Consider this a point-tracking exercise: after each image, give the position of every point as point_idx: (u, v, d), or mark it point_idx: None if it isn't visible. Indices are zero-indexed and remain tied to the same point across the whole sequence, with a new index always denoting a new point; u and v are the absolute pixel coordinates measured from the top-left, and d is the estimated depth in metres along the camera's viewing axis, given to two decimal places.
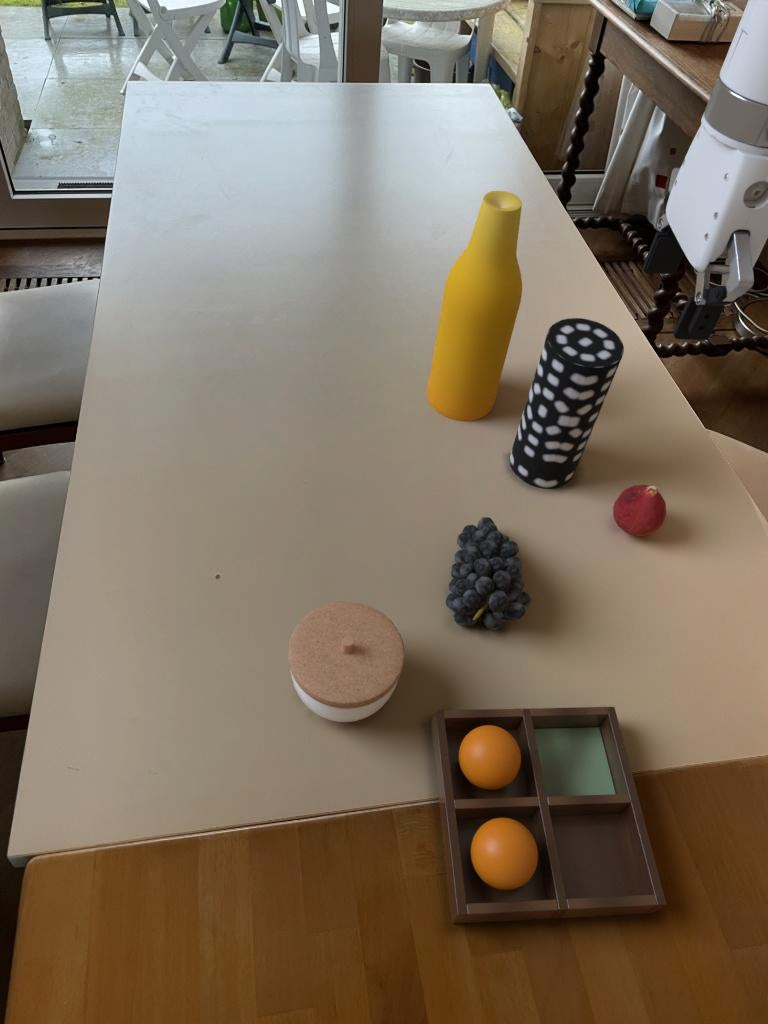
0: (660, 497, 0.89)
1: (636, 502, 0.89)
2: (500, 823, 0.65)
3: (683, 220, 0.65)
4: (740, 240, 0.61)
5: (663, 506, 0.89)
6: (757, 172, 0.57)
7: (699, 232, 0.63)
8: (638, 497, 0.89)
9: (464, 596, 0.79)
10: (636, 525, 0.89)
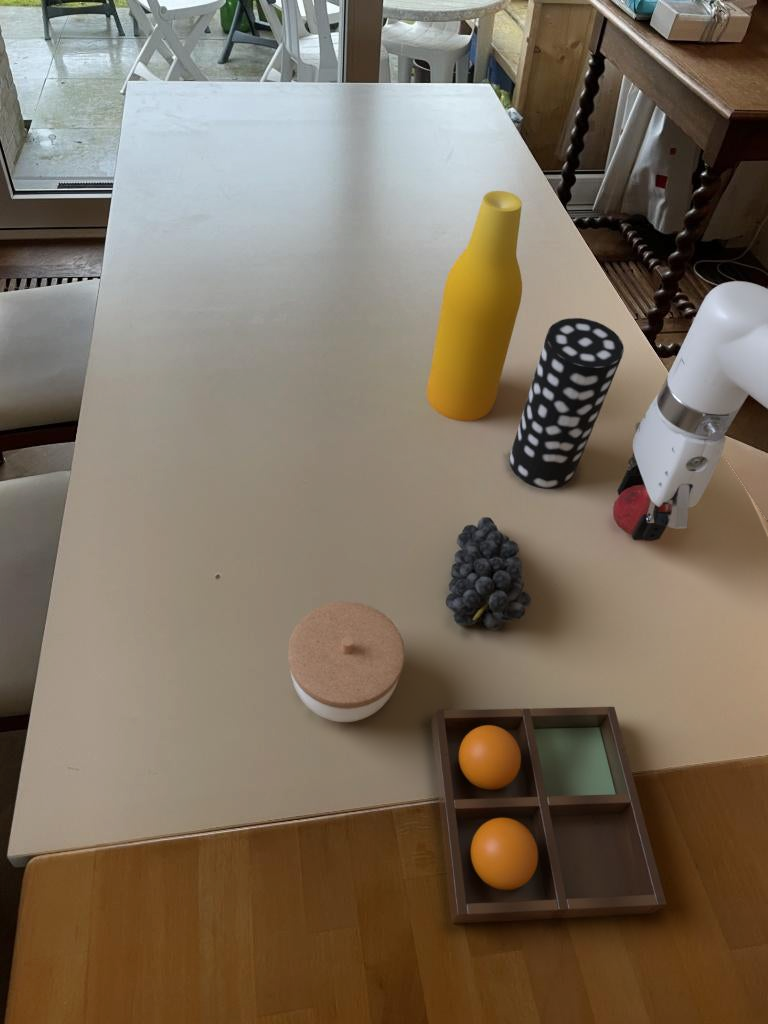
0: None
1: (636, 502, 0.89)
2: (500, 823, 0.65)
3: (644, 462, 0.85)
4: (682, 494, 0.81)
5: (663, 506, 0.89)
6: (695, 451, 0.77)
7: (655, 479, 0.82)
8: (638, 497, 0.89)
9: (464, 596, 0.79)
10: (636, 525, 0.89)
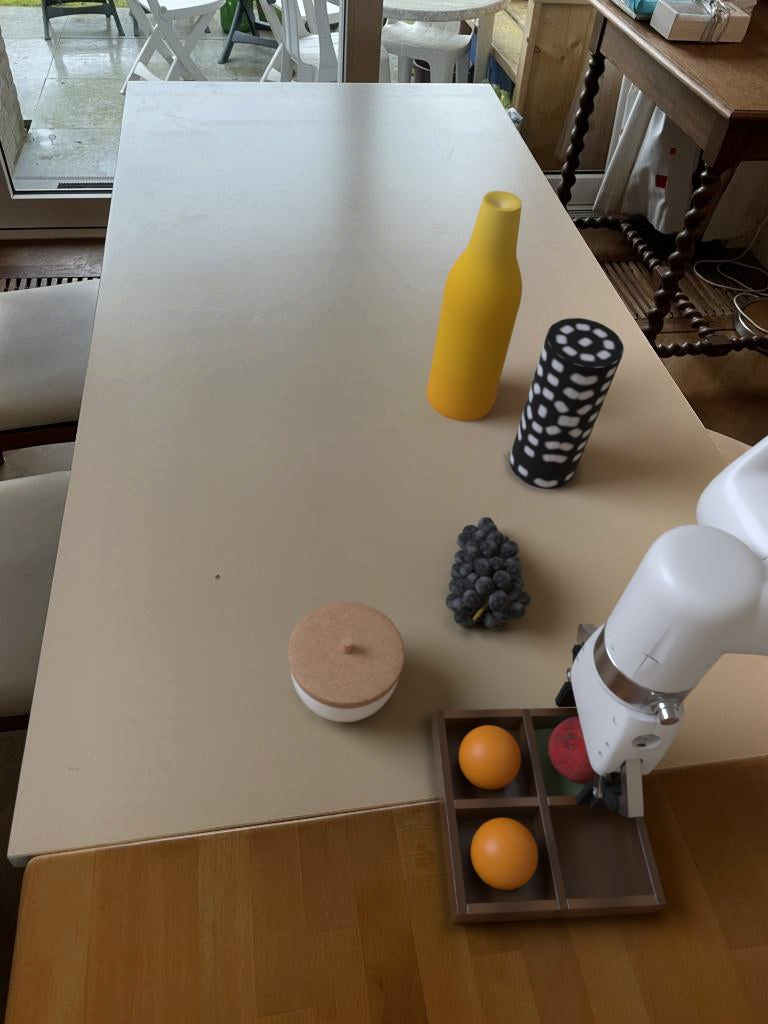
0: None
1: (575, 748, 0.68)
2: (500, 823, 0.65)
3: (582, 710, 0.64)
4: (632, 769, 0.60)
5: None
6: (643, 729, 0.57)
7: (594, 742, 0.62)
8: (578, 742, 0.68)
9: (464, 596, 0.79)
10: (576, 775, 0.69)
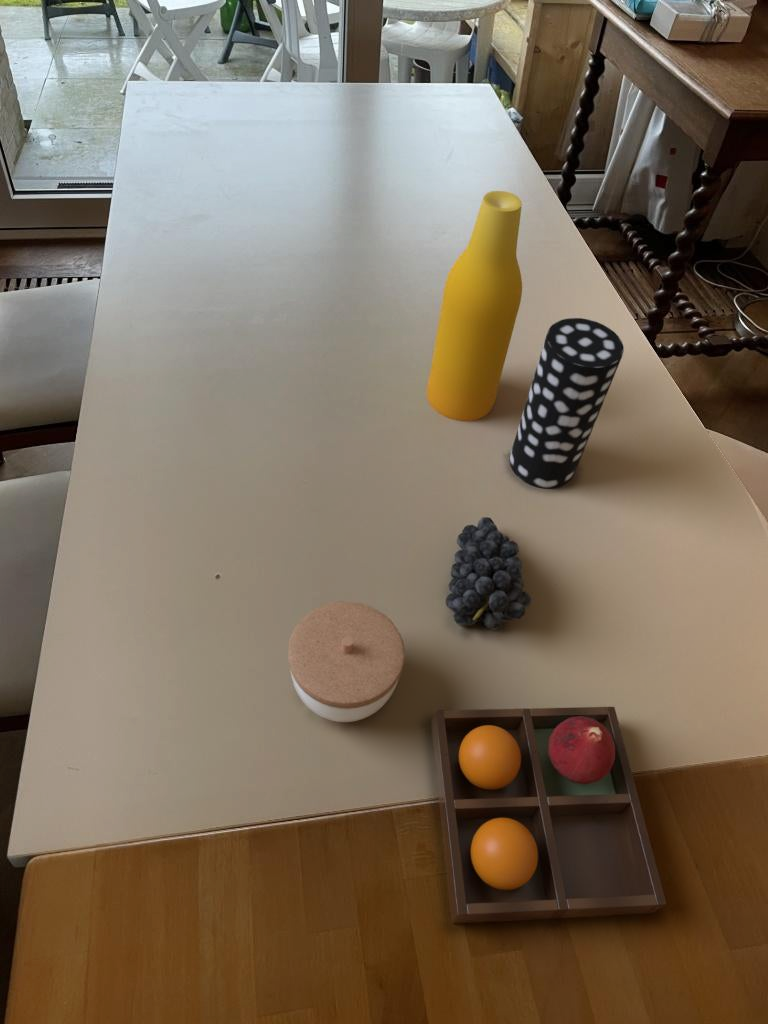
0: (606, 740, 0.69)
1: (575, 748, 0.68)
2: (500, 823, 0.65)
3: None
4: None
5: (610, 751, 0.69)
6: None
7: None
8: (578, 742, 0.68)
9: (464, 596, 0.79)
10: (576, 775, 0.69)
